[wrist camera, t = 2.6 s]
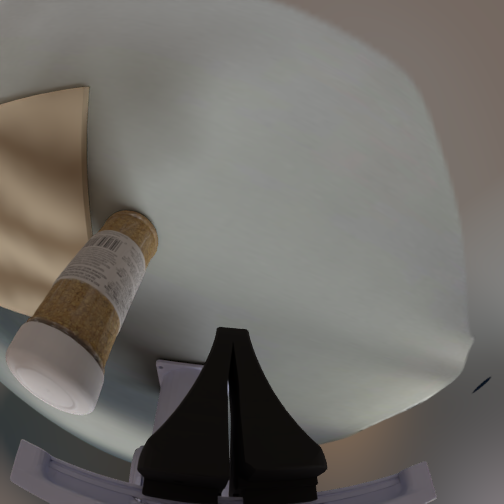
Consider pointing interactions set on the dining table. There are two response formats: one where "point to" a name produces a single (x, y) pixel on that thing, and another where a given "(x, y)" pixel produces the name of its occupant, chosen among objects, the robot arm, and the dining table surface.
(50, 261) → the birch board
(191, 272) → the dining table surface
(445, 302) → the dining table surface
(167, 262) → the dining table surface
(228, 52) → the dining table surface
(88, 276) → the sprinkles bottle
